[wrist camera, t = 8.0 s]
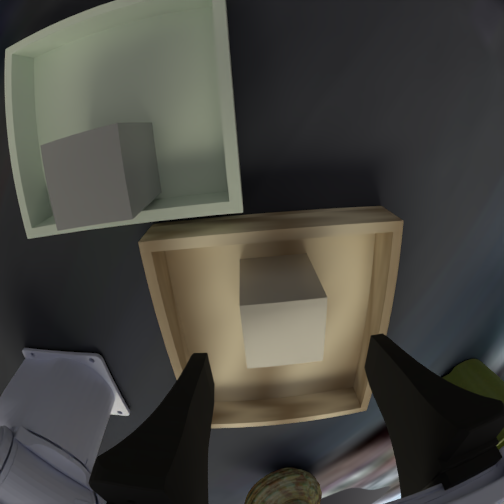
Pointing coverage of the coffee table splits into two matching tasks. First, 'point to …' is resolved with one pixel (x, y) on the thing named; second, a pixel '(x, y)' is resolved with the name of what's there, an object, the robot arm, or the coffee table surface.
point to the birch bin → (228, 310)
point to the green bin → (130, 102)
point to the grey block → (101, 174)
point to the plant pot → (478, 383)
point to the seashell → (286, 488)
